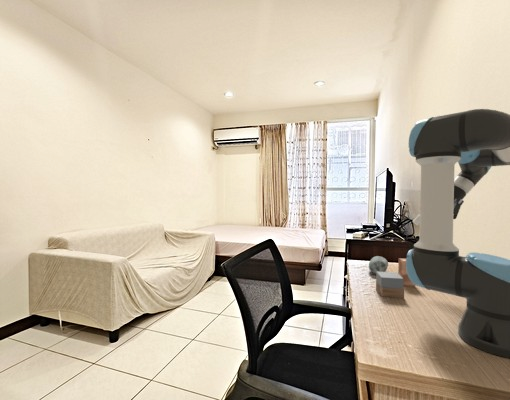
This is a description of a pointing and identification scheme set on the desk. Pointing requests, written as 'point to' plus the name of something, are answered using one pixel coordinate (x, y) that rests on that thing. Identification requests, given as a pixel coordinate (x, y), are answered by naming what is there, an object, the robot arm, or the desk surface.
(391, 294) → the bottom slab
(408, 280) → the tall block
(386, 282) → the top slab
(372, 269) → the spool
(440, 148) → the robot arm
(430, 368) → the desk surface
